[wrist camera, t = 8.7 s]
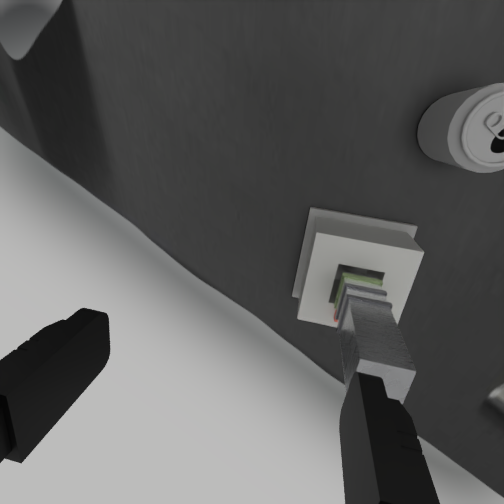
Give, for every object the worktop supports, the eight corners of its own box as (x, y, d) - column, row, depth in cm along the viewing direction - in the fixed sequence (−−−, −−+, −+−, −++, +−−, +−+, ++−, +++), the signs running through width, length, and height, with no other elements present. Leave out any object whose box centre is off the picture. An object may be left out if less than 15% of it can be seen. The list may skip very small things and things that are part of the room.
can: (442, 174, 40) (490, 193, 29) (401, 130, 39) (435, 133, 28) (500, 126, 37) (578, 126, 26) (457, 78, 36) (520, 57, 25)
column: (341, 267, 38) (358, 356, 24) (379, 274, 38) (420, 370, 23) (333, 299, 40) (343, 400, 25) (369, 306, 39) (401, 413, 25)
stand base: (310, 206, 44) (309, 225, 36) (415, 224, 42) (440, 248, 34) (292, 294, 49) (287, 327, 41) (384, 313, 48) (399, 352, 40)
